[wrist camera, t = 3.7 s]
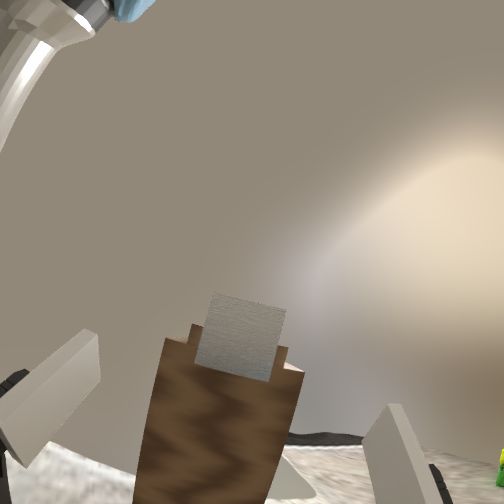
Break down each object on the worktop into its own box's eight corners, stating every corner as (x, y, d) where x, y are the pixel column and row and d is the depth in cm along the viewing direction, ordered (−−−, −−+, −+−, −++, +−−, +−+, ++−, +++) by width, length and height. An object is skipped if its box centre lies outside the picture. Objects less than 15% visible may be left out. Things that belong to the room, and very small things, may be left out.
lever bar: (193, 363, 12) (212, 291, 13) (223, 346, 36) (230, 321, 37) (268, 382, 12) (285, 309, 13) (249, 352, 36) (255, 327, 37)
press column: (126, 556, 13) (177, 292, 23) (157, 502, 29) (201, 310, 39) (228, 582, 13) (315, 326, 23) (230, 520, 28) (285, 331, 38)
